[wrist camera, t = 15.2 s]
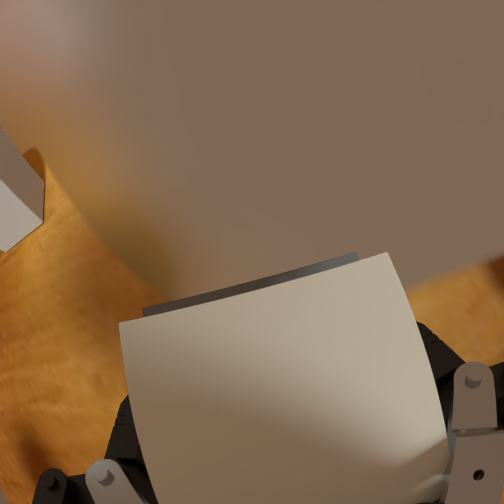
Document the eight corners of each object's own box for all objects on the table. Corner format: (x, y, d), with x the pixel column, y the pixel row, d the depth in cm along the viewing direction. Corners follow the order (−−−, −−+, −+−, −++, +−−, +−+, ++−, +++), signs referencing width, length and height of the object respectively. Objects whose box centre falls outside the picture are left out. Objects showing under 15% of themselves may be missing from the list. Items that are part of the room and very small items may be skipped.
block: (314, 341, 16) (387, 252, 5) (339, 425, 13) (453, 489, 3) (225, 365, 16) (118, 323, 5) (247, 449, 13) (185, 562, 2)
